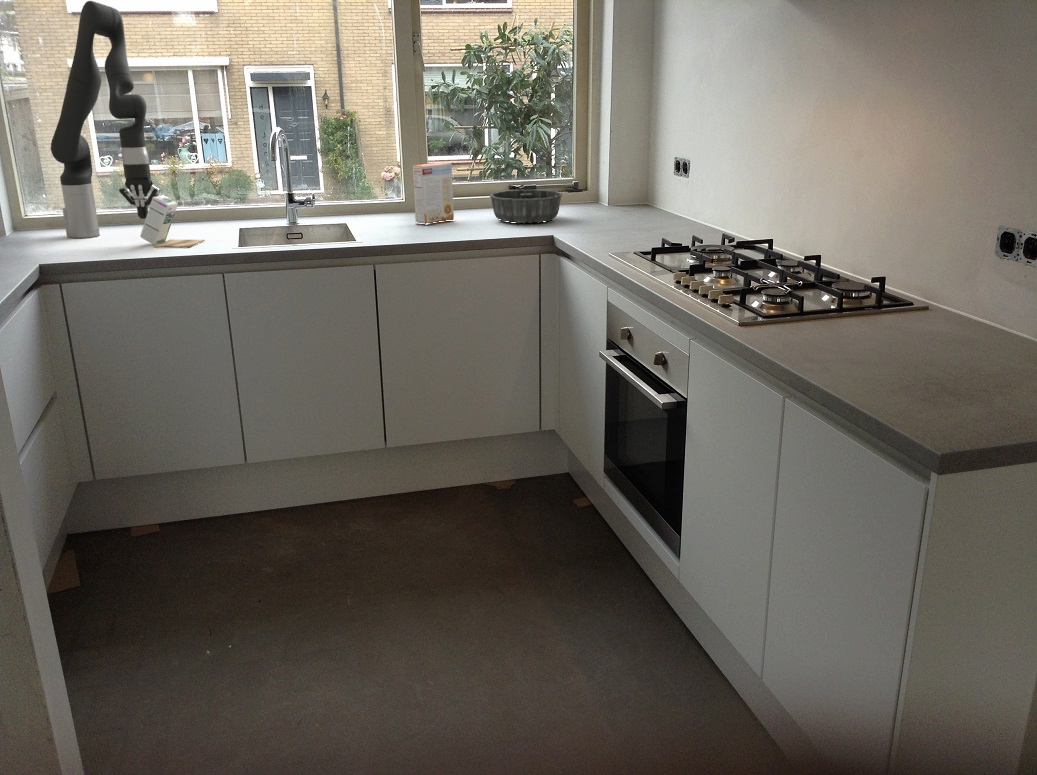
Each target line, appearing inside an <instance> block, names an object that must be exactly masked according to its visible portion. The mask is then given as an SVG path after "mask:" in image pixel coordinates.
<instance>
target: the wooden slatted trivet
mask: <svg viewBox="0 0 1037 775" xmlns="http://www.w3.org/2000/svg"><path fill="white" fill-rule="evenodd" d="M203 241H205V242H206V240H205V239H173V238H172V239H171V238H170V239H168V240H166V241H165V242H163V243H160V244H157V245H153V248H154V247H190V248H192V247H191V246H193V245H195V246H197V245H199V244H198V243H200V244H201V242H202V243H204V242H203ZM196 244H197V245H196ZM193 247H194V246H193Z"/></svg>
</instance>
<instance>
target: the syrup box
mask: <svg viewBox="0 0 1037 775" xmlns="http://www.w3.org/2000/svg"><path fill="white" fill-rule="evenodd" d="M178 205H179V203H178V201H176V200H175V199H173V198H170V197H169V196H166V195H165V194H162V195H158V196H156V197H153V198H152V201H151V204H150V205H149V207H148V214H147V217H146V219H144V224H143V226H142V230H141V232H140V238H141V239H143V240H144V241H146V242H147V243H150V244H151V245H153V246H155V245H157V244H160V243H163V242H165V241H167V237H168V235H169V232H170V229H171V227H172V226H171V225H172V223H173V221H174V216H175V214H176V211H177V208H178Z"/></svg>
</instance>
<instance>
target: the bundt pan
mask: <svg viewBox="0 0 1037 775" xmlns="http://www.w3.org/2000/svg"><path fill="white" fill-rule="evenodd" d="M562 196H563V192H559V191H555V190H549V189H545V190H543V189H516V190H515V189H511V190H503V191H497V192H492V193H491V194H490V196H489V198H490V199H491V204H492V205H491V206H492V210H493V214H494V216H495V217H496V219H497V220H499V219H501V220H502V221H501V222H503V221H509V222H517V223H516V224H519V223H524V224H526V223H527V222H528V223H532V224H533V223H534V222H541V223H542V222H543V221H548V222H550V221H552V219H553V220H554V219H555V218H556V217H557V216H558V214H559V212H560V205H561V200H562ZM525 222H526V223H525ZM528 223H527V224H528Z"/></svg>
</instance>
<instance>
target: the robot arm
mask: <svg viewBox="0 0 1037 775" xmlns="http://www.w3.org/2000/svg"><path fill="white" fill-rule="evenodd" d="M77 28H78V29H77V30H78V31H77V38H76V44H75V50H74V55H73V58H72V64H71V67H70V71H69V74H68V78H67V83H66V88H65V92H64V98H63V103H62V106H61V112H60V114H59V115H60V116H59V119H58V123H57V125H56V128H55V130H54V133H53V136H52V139H51V142H50V152H51V154H52V157H53V158H54V159H55V161H57V162H58V163H60V164H63V172H61V173H62V174H60V177H59V181H60V185H61V191H62V197H63V204H64V207H62V214H63V221H64V226H65V232H66V237H67V238H73V239H81V238H82V239H86V238H94V237H99V236H100V228H99V221H98V215H97V213H98V212H97V208H96V207H97V206H96V201H95V200H96V199H95V194H94V189H93V183H92V176H93V162H92V154H91V150H90V145H89V143H88V140H86V138H85V136H82V134H81V133H82V130H83V127H84V124H85V122H86V120H87V119H88V117H89V115H90V113H91V112H92V111H93V109H94V107H95V105H96V103H97V101H98V97H99V93H100V89H101V86H102V75H101V74H102V73H101V72H100V69H99V66H98V63H97V61H96V57H95V52H94V40H95V35H97V36H102V37H105V38H108V40H109V42H110V45H111V48H110V50H109V52H108V55H107V56H106V59H105V61H104V72H105V76H106V78H107V79H106V80H107V83H108V87H109V101H108V109H109V112H110V115H111V116H112V117H113V118H115V119H116V120H128V119H129V120H130V119H131V120H132V119H133V120H134V122H133V124H131V125H128V126H125V127H121V128H120V129H119V132H118V134H119V140H120V141H119V142H120V146H121V147H120V148H121V159H122V160H121V161H122V167H123V172H124V173H123V174H124V178H125V182H124V186H123V187H122V188H120V189H119V188H118V189H119V190H118V191H119V193H120V194H121V195H122V196H123V197H124V199H126V201H127V202H128V203H129V204H130V205H131V206H135V207H136V209H137V216H138V217H139V219H140V220H146V217H147V214H148V211H149V206H150V204H151V201H152V198H153V197H156V196H159V194H160V192H161V188H160V187H157V186H155V184H154V182H153V180H152V179H151V178H152V177H151V176H152V175H151V169H150V160H149V159H150V158H149V155H148V150H147V145H146V138H145V121H146V114H147V103H146V100H145V98H144V97H143V96H142V95H140V94H134V93H133V94H129V93H131V92H133V90H134V88H135V85H134V80H133V76H132V73H131V69H130V66H129V63H128V55H127V45H126V44H127V43H126V36H125V34H126V33H125V27H124V20H123V16H122V13H121V12H120V11H119V10H118V9H117V8H114V7H112V6H109V5H105V4H104V3H100V2H97V1H93V0H87V1H86V2H85V3H84V4H83V5H82V8H81V11H80V16H79V22H78V27H77ZM149 193H150V195H149Z"/></svg>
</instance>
